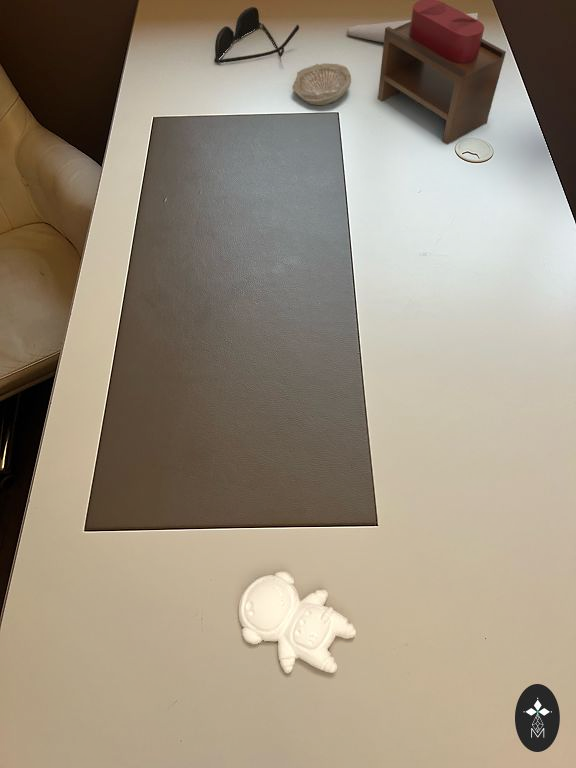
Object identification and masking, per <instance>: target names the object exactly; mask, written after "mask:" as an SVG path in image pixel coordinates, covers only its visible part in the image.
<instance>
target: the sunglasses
mask: <svg viewBox="0 0 576 768" xmlns="http://www.w3.org/2000/svg"><path fill="white" fill-rule="evenodd" d="M260 26H261V27H260ZM257 27H259V28H262V27H263V28H262V29H263V30H264V32H265V31H266V32H265V33H266V35H267V34H268V35H269V36H268V35H267V36H268V38H269V39H270V38H271V39H272V41H273V42H274V44H275V46H276V47H275V46H274V47H275V49H273V50H269V51H266V52H262V53H260V52H259V53H255V54H249V55H243V56H236V57H227V58H221V59H220V60H219V58H220V57H221V56H222V55H223V53H225V51H226V50H227V49H228V48H229V47H230V46H231V47H232V45H233V44H234V42H236V41H238V40H240V39H242V38H241V37H242V36H244V35H245V34H247V33H249V32H251V31H253V30H254V29H256V28H257ZM257 29H258V28H257ZM257 29H256V30H257ZM299 30H300V25H299V24H296V25H295V26H294V28H293V30H292V31H291V32H290V34H289V35H288V36H287V38H286V39H285V41H284V42H283V43H282V44H281V45H280V46H279V45H278V44H277V43H276V41H275V39H274V37H273V36H272V34H271V33H270V31H269V30H268V29H267V27H266V26H265V24H264V23H261V22H260V14H259V9H258V8H257V7H255V6H251V7H249V8H246V9H244V10H243V12H241V13H240V15H239V16H238V18H237V20H236V24H235V29H234V31H233V30H232V28H231V27H230V26H228V25H224V27H222V28H221V29H220V30H219V31H218V32H217V35H216V38H215V43H214V58H213V59H214V63H216V64H217V63H218V64H224V62H225V63H232V62H233V63H234V62H239V61H245V60H251V59H252V60H253V59H258V58H262V57H267V56H270V55H273V54H275V53H277V54H278V53H279V54H278V56H279V57H282V56H283V55H284V53H285V47H286V46H287V45H288V44H289V42H290V41H291V40H292V38H293V37H294V36H295V34H296V33H298V31H299ZM253 32H254V31H253ZM239 38H240V39H239ZM237 39H238V40H237ZM271 39H270V40H271ZM235 40H236V41H235ZM272 41H271V42H272ZM273 42H272V43H273ZM231 44H232V45H231ZM274 44H273V45H274ZM231 47H230V48H231ZM230 48H229V49H230ZM276 48H277V49H276ZM229 49H228V50H229Z"/></svg>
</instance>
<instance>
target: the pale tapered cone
mask: <svg viewBox="0 0 576 768" xmlns="http://www.w3.org/2000/svg"><path fill="white" fill-rule="evenodd" d="M465 14H466V15H468V16H470V17H472V18H474V19H476V20H478V19H479V12H472V13H471V12H470V13H465ZM408 22H411V19H407V20H398V21H397V20H396V21H388V22H387V21H386V22H379V23H370V24H358V25H353V26H349V27H347V29H346V34H347V35H348V36H350V37H353V38H358V39H362V40H363V39H364V40H367V41H373V42H379V43H382V44H384V35H385V28H386V27H390V28H392V29H395V28H397V27H399V26H401V25H404V24H406V23H408Z"/></svg>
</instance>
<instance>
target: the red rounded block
mask: <svg viewBox="0 0 576 768" xmlns="http://www.w3.org/2000/svg"><path fill="white" fill-rule="evenodd" d="M466 14H467V13H465V12H462V11H460V10H459V9H457V8H455V7H453V6H452V5H449V4H447V3H446V2H444V1H441V0H417V1H416V2H414V4H413V5H412V12H411V19H410V20H411V26H410V33H409V34H410V37H411V38H412V39H414V40H415V41H417V42H419V43H420V44H422V45H424V46H426V47H427V48H429V49H431V50H432V51H434V52H436V53H438V54H439V55H441V56H443V57H445V58H446V59H448V60H450V61H453V62H457V63H468V62H471V61H474V60H475V59H476V58H477V57H478V53H479V48H480V44H481V40H482V39H483V35H484V31H485V26H484V23H482V22H481V21H480V20H478V19H477V20H476V19H474V18H472V17H470V16H468V15H466Z"/></svg>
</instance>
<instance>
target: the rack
mask: <svg viewBox="0 0 576 768" xmlns="http://www.w3.org/2000/svg"><path fill="white" fill-rule="evenodd" d="M410 26H411V22H408V23H406V24H404V25H401V26H399V27H397V28H395V29H392V28H390V27H386V28H385V35H384V43H383V46H382V54H381V55H382V56H381V63H380V73H379V82H378V83H379V84H378V93H377V99H378V100H379V101H381V102H383V101H385V100H388V99H389V98H392V97H394V96H395V95H398V94H400V93H403V94H404V95H406V96H408V97H409V98H411V99H413V101H415V102H417V103H419V104H420V105H422V106H423V107H424V108H427V109H428V110H430V111H431V112H433V113H435V114H436V115H438V116H439V117H441V118H442V119H444V120H446V123H445V126H444V132H443V137H442V142H443V143H444V144H446V145H449V144H451V143H452V142H454V141H455V140H458V139H460V138H461V137H463V136H465V135H467V134H469V133H471V132H472V131H474V130H477V129H479V128H480V127H482V126H484V125H486V124H487V123H488V120H489V116H490V113H491V108H492V105H493V102H494V98H495V94H496V91H497V87H498V84H499V83H498V82H499V79H500V75H501V71H502V69H503V64H504V62H505V57H506V54H507V53H506V52H507V51H506V50H504V49H502V48H500V47H498V46H496V45H495V44H493V43H490V42H489V41H487V40H486V39H484V38H482V40H481V44H480V48H479V53H478V57H477V58H476V59H475V60H474V61H471V62H468V63H457V62H453V61H450V60H448V59H446V58H445V57H443V56H441V55H439V54H438V53H436V52H434V51H432V50H431V49H429V48H427V47H426V46H424V45H422V44H420V43H419V42H417V41H415V40H414V39H412V38H411V37H410V34H409V33H410Z"/></svg>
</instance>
